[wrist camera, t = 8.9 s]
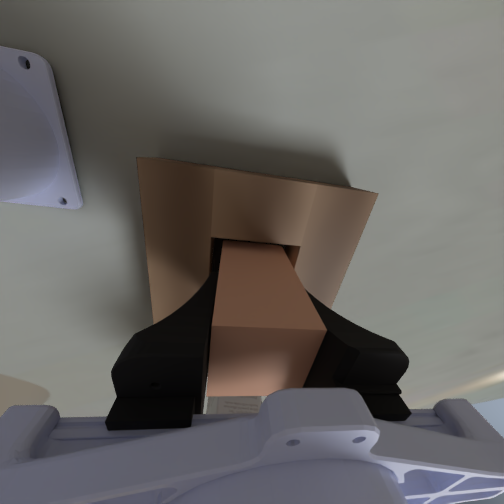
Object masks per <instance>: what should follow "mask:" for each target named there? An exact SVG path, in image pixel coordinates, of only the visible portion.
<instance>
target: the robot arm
mask: <svg viewBox="0 0 504 504" xmlns="http://www.w3.org/2000/svg"><path fill="white" fill-rule="evenodd" d="M27 60H29V62H30V68H29V69H27V67H26V61H27ZM63 198H65V199H66V201H67V203H65V202H64V201H63ZM0 201H2V202H11V203H20V204H29V205H38V206H47V207H56V208H65V209H79V208H81V207H82V206H83V200H82V196H81V192H80V187H79V183H78V179H77V174H76V170H75V166H74V162H73V157H72V153H71V149H70V144H69V140H68V136H67V131H66V127H65V123H64V119H63V114H62V110H61V106H60V101H59V97H58V93H57V88H56V84H55V80H54V76H53V71H52V68H51V66H50V64H49V63H48V61H47V60H46V59H44V58H43V57H42V56H40V55H38V54H36V53H33V52H28V51H24V50H19V49H14V48H9V47H4V46H0ZM218 275H219V272H211V273H210V275H209V277H208V278H207V280H206V281H205V282H204V284H203V285H202V286H201V287H200V289H199V290H198V291H197V292H196V293H195V294H194V295H193V296H192V297H191V298H190V299H189V300H188V301H187V302H186V303H185V304H183V305H182V306H181V307H180V308H178V309H177V310H176V311H175V312H173V313H172V314H170V315H169V316H167V317H166V318H164V319H162V320H161V321H159V322H157V323H156V324H154V325H152V326H150V327H148V328H146V329H144V330H142V331H140V332H137V333H135V334H134V335H133V337H132V338H131V339H130V341H129V342H128V343H127V345H126V346H125V347H124V349H123V351H122V352H121V354H120V356H119V357H118V359H117V361H116V363H115V364H114V366H113V368H112V371H111V377H112V381H113V384H114V388H115V392H116V395H117V398H116V400H115V402H114V404H113V406H112V408H111V410H110V412H109V414H108V416H107V417H66V418H60V415H59V412H58V410H57V409H56V408H55V407H53V406H50V405H14V406H11V407H9V408H8V409H7V410H6V411H5V413H4V414H3V415H2V416H1V417H0V504H454V503H460V502H466V501H473V500H482V499H489V498H493V497H495V496H497V495H499V494H501V493H503V492H504V438H503V437H502V436H501V435H500V434H499V433H498V432H497V431H496V430H495V429H494V428H493V427H492V426H491V425H490V424H489V423H488V422H487V421H486V420H485V419H484V418H483V416H482V415H481V414H480V413H479V412H478V411H477V410H476V409H475V408H474V407H473V406H472V405H471V404H470V403H469V402H468V401H467V400H466V399H443V400H441V401H439V402H438V403H437V404H436V405H435V406H434V407H433V409H409V408H408V407H407V406H406V404H405V403H404V401H403V400H402V398H401V397H400V396H399V394H401V393H402V392H401V390H400V388H399V387H398V385H397V384H396V383H397V382H398V381H399V380H400V378H401V377H402V376H403V374H404V373H405V372H406V370H407V368H408V365H409V359H408V357H407V356H406V354H405V353H404V352H403V351H402V350H401V349H400V347H399V346H398V345H397V344H396V343H395V342H394V341H392V340H389V339H387V338H384V337H382V336H379V335H377V334H375V333H372V332H370V331H368V330H366V329H364V328H362V327H360V326H358V325H356V324H354V323H352V322H351V321H349V320H347V319H345V318H343V317H342V316H340V315H339V314H337V313H336V312H334V311H333V310H331V309H330V308H328V307H327V306H325V305H324V304H323V303H321V302H320V301H319V300H318V299H316V298H315V297H314V296H313V295H312V294H310V293H309V292H308V291H307V290H306V289H305V290H306V292H307V294H308V296H309V298H310V299H311V301H312V303H313V305H314V307H315V309H316V311H317V312H318V314H319V316H320V318H321V320H322V322H323V323H324V325H325V327H326V329H327V332H326V334H325V336H324V338H323V341H322V343H321V345H320V348H319V350H318V352H317V355H316V357H315V359H314V362H313V364H312V366H311V369H310V371H309V373H308V376H307V378H306V380H305V383H304V385H303V387H302V388H288V389H282V390H277V391H275V392H273V393H271V394H269V395H268V396H267V397H266V399H265V400H264V401H263V403H262V404H261V406H260V410H259V413H236V414H203V407H204V398H205V390H206V381H207V372H208V364H209V355H210V342H211V328H212V319H213V312H214V305H215V297H216V290H217V283H218Z"/></svg>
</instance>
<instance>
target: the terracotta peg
mask: <svg viewBox="0 0 504 504" xmlns="http://www.w3.org/2000/svg"><path fill="white" fill-rule="evenodd" d="M326 332H327V329H326V327H325V325H324V323H323V322H322V320H321V318H320V316H319V314H318V312H317V311H316V309H315V307H314V305H313V303H312V301H311V299H310V298H309V296H308V294H307V292H306V290H305V288H304V287H303V285H302V283H301V281H300V279H299V277H298V275H297V274H296V272H295V270H294V268H293V266H292V264H291V263H290V261H289V259H288V257H287V255H286V253H285V251H284V250H283V248H282V246H280V245H270V244H260V243H250V242H240V241H230V240H223V246H222V253H221V260H220V268H219V275H218V283H217V290H216V297H215V305H214V312H213V319H212V328H211V342H210V355H209V369H208V383H207V397H208V396H268V395H269V394H271V393H273V392H275V391H277V390H282V389H288V388H302V387H303V385H304V383H305V380H306V378H307V376H308V373H309V371H310V369H311V366H312V364H313V362H314V359H315V357H316V355H317V352H318V350H319V348H320V345H321V343H322V341H323V338H324V336H325V334H326Z"/></svg>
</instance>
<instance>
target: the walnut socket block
mask: <svg viewBox="0 0 504 504" xmlns="http://www.w3.org/2000/svg"><path fill="white" fill-rule="evenodd" d="M136 159H137V168H138V178H139V188H140V197H141V207H142V217H143V226H144V236H145V245H146V255H147V265H148V274H149V284H150V294H151V303H152V313H153V323H154V324H156V323H157V322H159V321H161V320H162V319H164V318H166V317H167V316H169V315H170V314H172V313H173V312H175V311H176V310H177V309H178V308H180V307H181V306H182V305H183V304H185V303H186V302H187V301H188V300H189V299H190V298H191V297H192V296H193V295H194V294H195V293H196V292H197V291H198V290H199V289H200V287H201V286H202V285H203V284H204V282H205V281H206V280H207V278H208V277H209V275H210V273H211V272H212V265H213V249H214V237H216V238H226V239H236V240H245V241H255V242H265V243H275V244H285V245H286V247H285V253H286V255H287V257H288V259H289V261H290V263H291V264H292V266H293V268H294V270H295V272H296V274H297V275H298V277H299V279H300V281H301V283H302V285H303V287H304V288H305V289H306V290H307V291H308V292H309V293H310V294H312V295H313V296H314V297H315V298H316V299H318V300H319V301H320V302H321V303H323V304H324V305H325V306H327V307H328V308H330V309H331V307H332V305H333V302H334V300H335V298H336V295H337V293H338V290H339V288H340V286H341V283H342V281H343V278H344V276H345V273H346V271H347V269H348V266H349V264H350V261H351V259H352V257H353V254H354V252H355V249H356V247H357V245H358V242H359V240H360V237H361V235H362V232H363V230H364V228H365V225H366V223H367V220H368V218H369V216H370V213H371V211H372V208H373V206H374V204H375V201H376V199H377V196H378V193H374V192H370V191H366V190H361V189H357V188H353V187H347V186H341V185H334V184H328V183H321V182H315V181H308V180H301V179H295V178H288V177H282V176H275V175H269V174H262V173H255V172H249V171H242V170H236V169H229V168H222V167H216V166H209V165H203V164H196V163H190V162H183V161H176V160H170V159H163V158H150V157H136Z"/></svg>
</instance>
